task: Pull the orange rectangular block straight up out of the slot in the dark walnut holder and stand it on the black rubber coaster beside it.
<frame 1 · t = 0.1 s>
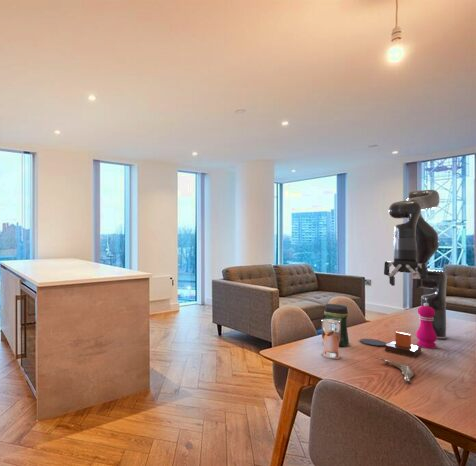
hand: (405, 286, 142), 29 cm above the table, tool pointing down, fingers open, 8 cm apart
beer glass: (331, 356, 141), on the table
coffee jar: (336, 344, 157), on the table
orange rectangular block: (403, 342, 147), in the holder
holder: (403, 351, 147), on the table
coaster: (373, 343, 158), on the table
jawbone: (393, 372, 124), on the table
pepper mill: (426, 346, 154), on the table
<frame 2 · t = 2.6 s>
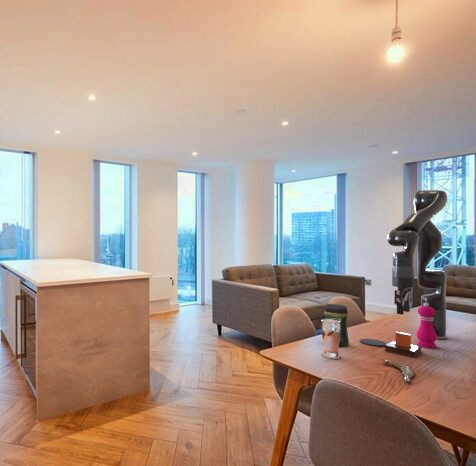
hand: (403, 312, 146), 17 cm above the table, tool pointing down, fingers open, 8 cm apart
nothing on the table moved.
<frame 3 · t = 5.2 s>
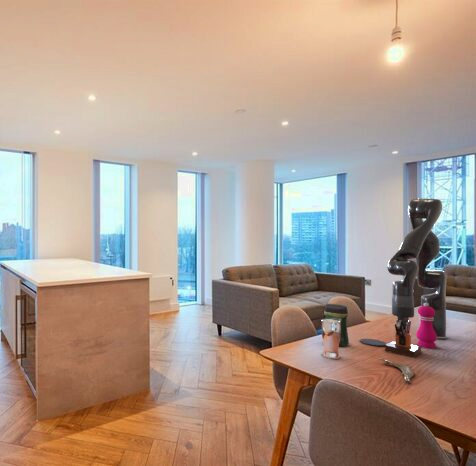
hand: (403, 344, 147), 3 cm above the table, tool pointing down, fingers closed on orange rectangular block, 1 cm apart
orange rectangular block: (403, 342, 147), in the holder, touching gripper
everything else where it was.
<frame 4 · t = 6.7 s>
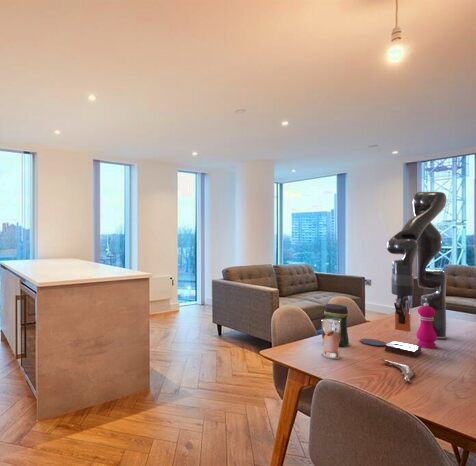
hand: (402, 323, 147), 12 cm above the table, tool pointing down, fingers closed on orange rectangular block, 1 cm apart
orange rectangular block: (402, 321, 147), point 13 cm above the table, touching gripper
everything else where it was.
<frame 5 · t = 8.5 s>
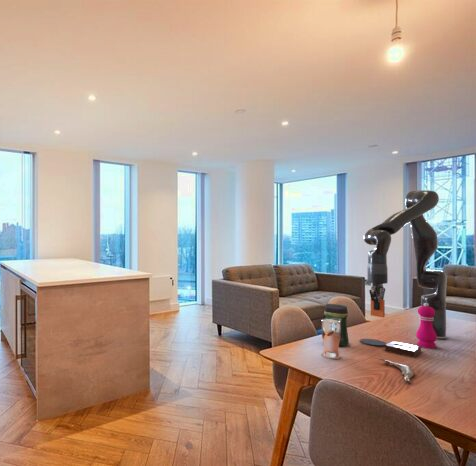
hand: (377, 309, 156), 16 cm above the table, tool pointing down, fingers closed on orange rectangular block, 1 cm apart
orange rectangular block: (377, 307, 156), point 17 cm above the table, touching gripper
everything else where it was.
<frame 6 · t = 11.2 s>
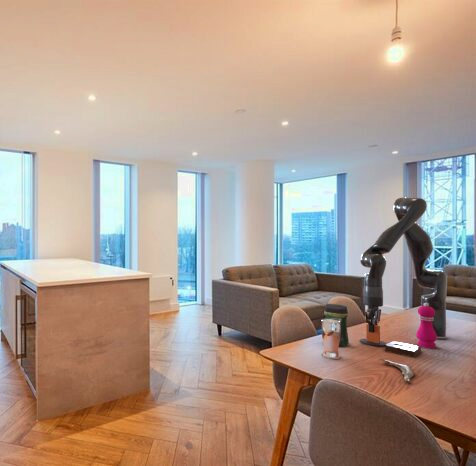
hand: (373, 331, 158), 6 cm above the table, tool pointing down, fingers open, 3 cm apart
orange rectangular block: (373, 333, 158), on the coaster, point 5 cm above the table
everything else where it was.
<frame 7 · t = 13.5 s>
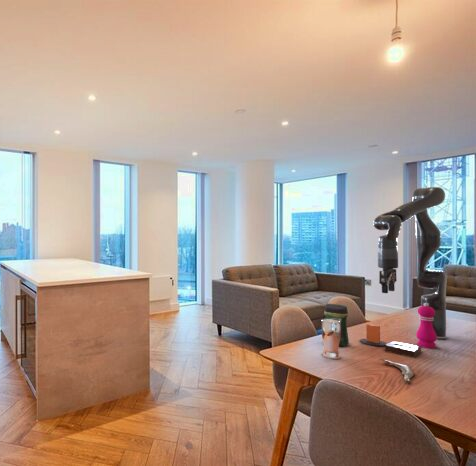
hand: (388, 292, 157), 24 cm above the table, tool pointing down, fingers open, 8 cm apart
nothing on the table moved.
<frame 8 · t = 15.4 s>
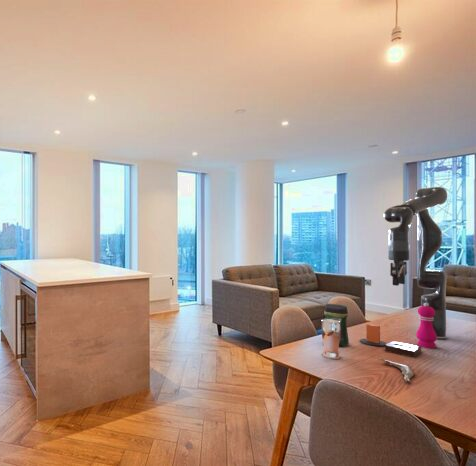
hand: (398, 284, 156), 28 cm above the table, tool pointing down, fingers open, 8 cm apart
nothing on the table moved.
at the end: orange rectangular block inside the target area (0.1 cm from its centre), point 4.6 cm above the table; orange rectangular block touching coaster; the gripper is holding nothing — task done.
